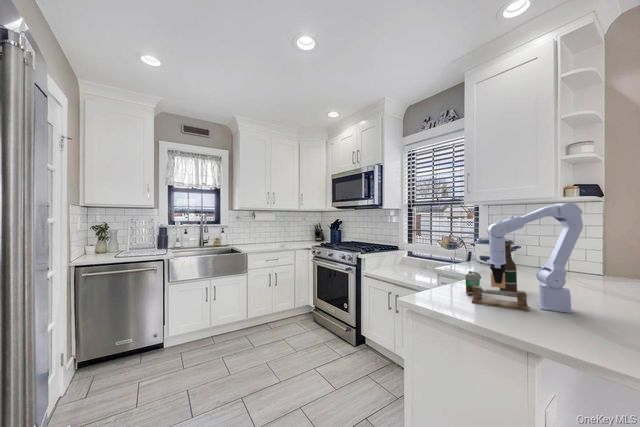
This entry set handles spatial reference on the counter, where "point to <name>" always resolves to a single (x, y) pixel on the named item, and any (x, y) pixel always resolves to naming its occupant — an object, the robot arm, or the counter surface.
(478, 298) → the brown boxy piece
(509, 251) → the beer bottle
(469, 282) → the food container
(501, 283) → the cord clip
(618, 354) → the counter surface
